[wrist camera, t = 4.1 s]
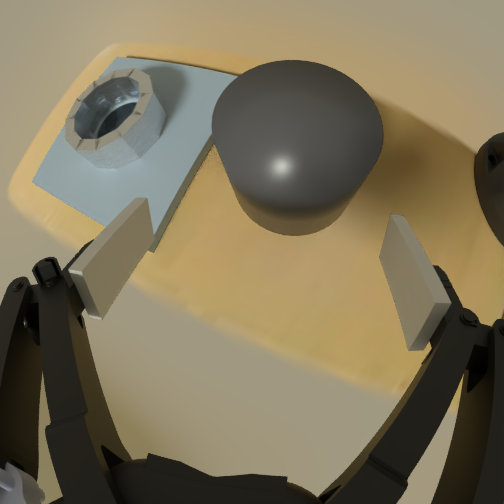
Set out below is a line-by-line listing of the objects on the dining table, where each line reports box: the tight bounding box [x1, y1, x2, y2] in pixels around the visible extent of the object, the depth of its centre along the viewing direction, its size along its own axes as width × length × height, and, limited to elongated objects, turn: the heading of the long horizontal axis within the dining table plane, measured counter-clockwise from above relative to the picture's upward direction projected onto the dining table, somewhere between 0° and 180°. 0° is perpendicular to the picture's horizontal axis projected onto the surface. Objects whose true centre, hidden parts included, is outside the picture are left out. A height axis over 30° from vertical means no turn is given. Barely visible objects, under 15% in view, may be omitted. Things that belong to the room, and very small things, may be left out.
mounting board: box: [32, 57, 238, 253], centre depth 28 cm, size 20×20×2 cm
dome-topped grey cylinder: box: [211, 60, 383, 236], centre depth 20 cm, size 9×9×12 cm
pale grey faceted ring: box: [65, 68, 168, 169], centre depth 25 cm, size 10×10×4 cm
